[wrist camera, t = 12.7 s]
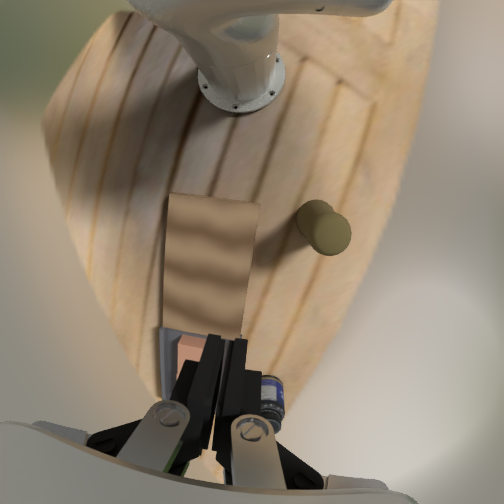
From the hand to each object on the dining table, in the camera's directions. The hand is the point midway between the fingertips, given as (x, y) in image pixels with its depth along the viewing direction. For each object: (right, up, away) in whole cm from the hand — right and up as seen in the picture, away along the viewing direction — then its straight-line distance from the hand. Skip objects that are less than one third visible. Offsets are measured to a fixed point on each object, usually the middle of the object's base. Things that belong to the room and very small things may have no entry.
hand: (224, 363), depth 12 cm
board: (-6, +2, +33) cm, 34 cm away
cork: (+11, +9, +30) cm, 34 cm away
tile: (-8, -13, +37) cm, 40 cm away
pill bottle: (+4, -21, +39) cm, 45 cm away
